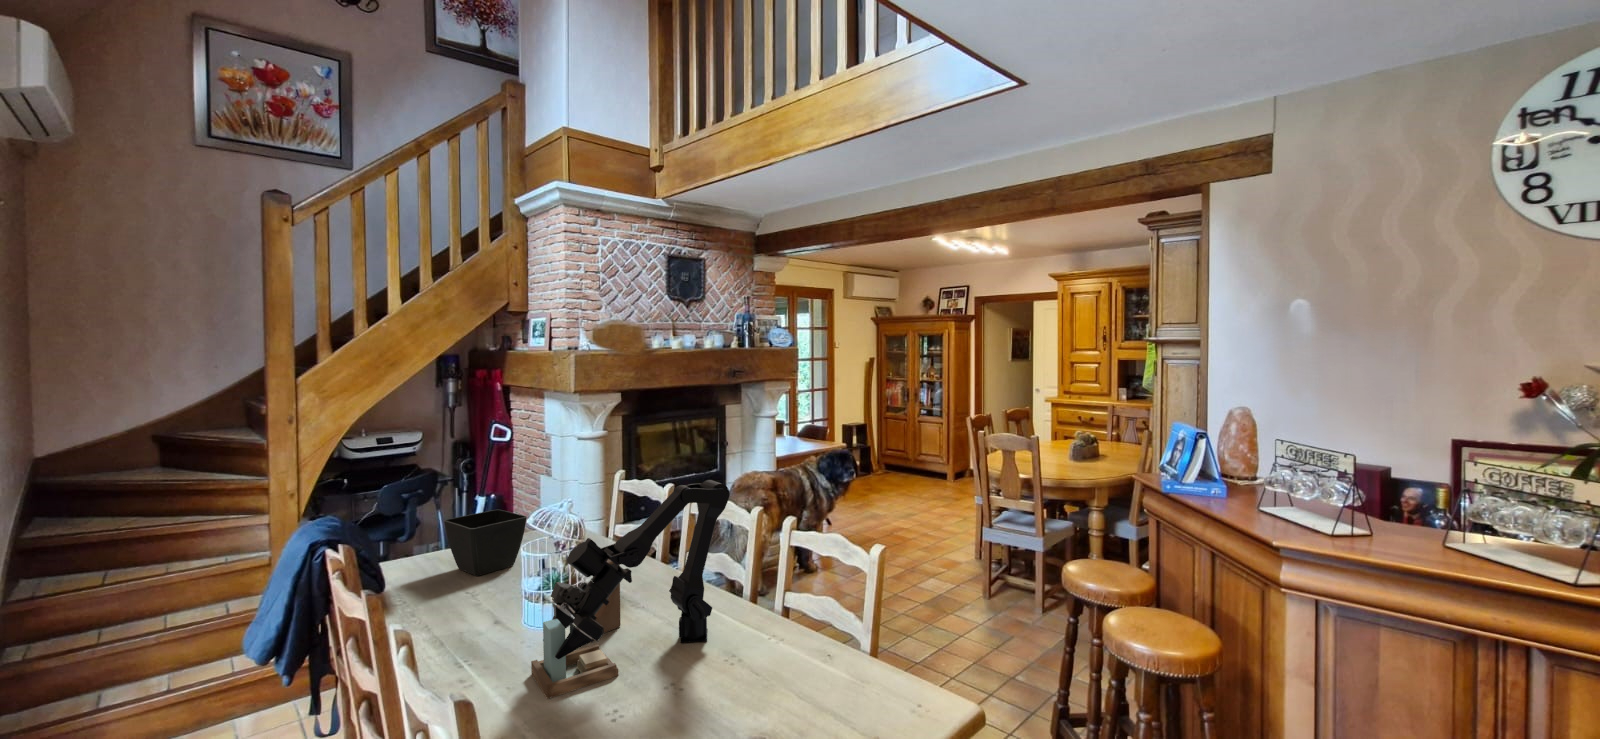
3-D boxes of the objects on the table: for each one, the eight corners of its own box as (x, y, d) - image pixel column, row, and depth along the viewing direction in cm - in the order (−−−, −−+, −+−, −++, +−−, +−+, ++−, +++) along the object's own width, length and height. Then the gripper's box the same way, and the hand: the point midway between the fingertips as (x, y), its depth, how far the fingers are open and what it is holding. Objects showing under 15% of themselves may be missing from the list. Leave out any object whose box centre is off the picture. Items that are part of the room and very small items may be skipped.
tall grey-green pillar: (557, 673, 139) (557, 618, 138) (566, 685, 134) (565, 628, 133) (543, 677, 137) (543, 622, 136) (551, 689, 132) (550, 631, 132)
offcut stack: (599, 661, 144) (599, 647, 144) (609, 672, 139) (609, 657, 139) (577, 669, 141) (576, 654, 141) (586, 680, 136) (586, 665, 136)
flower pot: (499, 554, 220) (498, 507, 220) (529, 565, 209) (528, 515, 209) (443, 570, 205) (442, 519, 204) (472, 582, 194) (471, 529, 193)
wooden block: (591, 639, 155) (590, 568, 154) (580, 634, 157) (579, 564, 157) (621, 626, 162) (620, 558, 162) (610, 622, 165) (609, 555, 164)
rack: (598, 653, 147) (598, 641, 147) (618, 675, 138) (618, 662, 137) (531, 674, 138) (531, 661, 138) (547, 699, 128) (547, 684, 128)
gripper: (561, 557, 145) (511, 616, 138) (588, 580, 130) (533, 647, 124) (595, 583, 150) (548, 641, 143) (625, 608, 135) (574, 674, 128)
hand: (550, 649), depth 135 cm, fingers open, 9 cm apart
